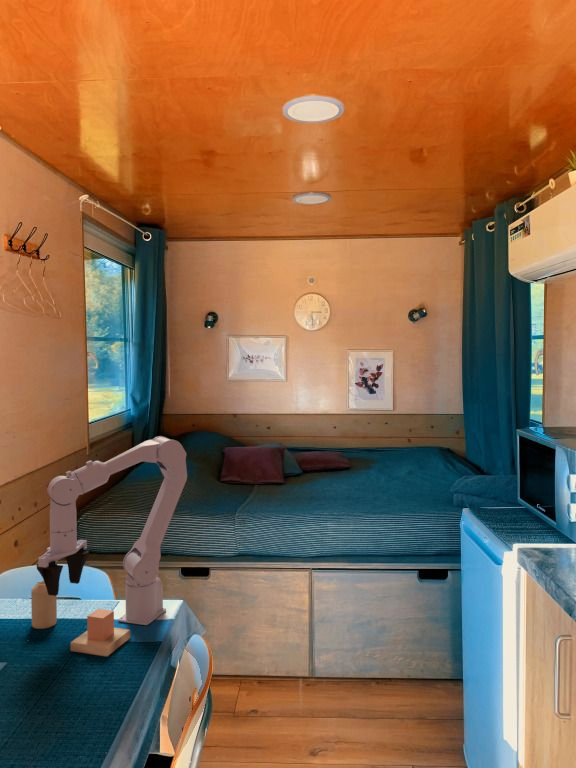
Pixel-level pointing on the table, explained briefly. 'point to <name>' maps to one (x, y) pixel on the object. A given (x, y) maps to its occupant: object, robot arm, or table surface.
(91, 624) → the terracotta block
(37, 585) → the candle
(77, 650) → the birch block
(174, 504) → the robot arm
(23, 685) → the table surface
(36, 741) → the table surface
